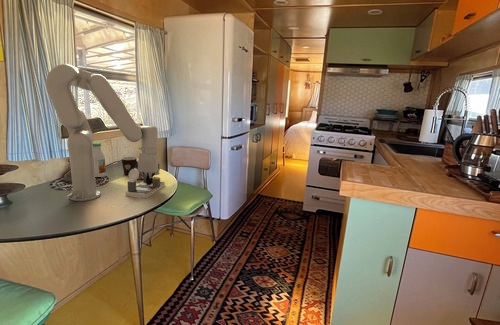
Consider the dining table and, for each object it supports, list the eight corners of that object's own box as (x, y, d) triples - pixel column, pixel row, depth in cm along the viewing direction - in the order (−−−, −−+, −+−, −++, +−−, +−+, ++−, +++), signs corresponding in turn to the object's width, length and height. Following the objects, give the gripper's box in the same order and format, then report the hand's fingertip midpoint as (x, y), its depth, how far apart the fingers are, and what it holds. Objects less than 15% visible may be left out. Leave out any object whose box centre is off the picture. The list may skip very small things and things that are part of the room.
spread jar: (154, 176, 165) (154, 158, 163) (147, 182, 154) (146, 162, 152) (135, 175, 166) (134, 157, 163) (126, 181, 155) (125, 161, 152)
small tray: (146, 198, 132) (146, 184, 130) (125, 195, 133) (125, 182, 131) (164, 185, 151) (164, 173, 150) (146, 183, 152) (145, 171, 151)
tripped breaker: (157, 188, 139) (157, 178, 138) (152, 187, 140) (152, 178, 139) (160, 186, 142) (160, 177, 141) (154, 185, 142) (154, 176, 141)
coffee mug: (119, 174, 165) (118, 158, 163) (128, 171, 173) (128, 156, 171) (134, 177, 162) (134, 161, 160) (144, 173, 170) (143, 158, 168)
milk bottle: (94, 179, 155) (91, 144, 150) (89, 175, 160) (86, 142, 155) (108, 176, 160) (106, 143, 156) (103, 173, 165) (100, 141, 161)
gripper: (131, 149, 134) (131, 184, 138) (160, 153, 133) (159, 188, 137) (139, 147, 141) (139, 180, 145) (166, 150, 140) (165, 184, 144)
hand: (149, 184), depth 141 cm, fingers closed
